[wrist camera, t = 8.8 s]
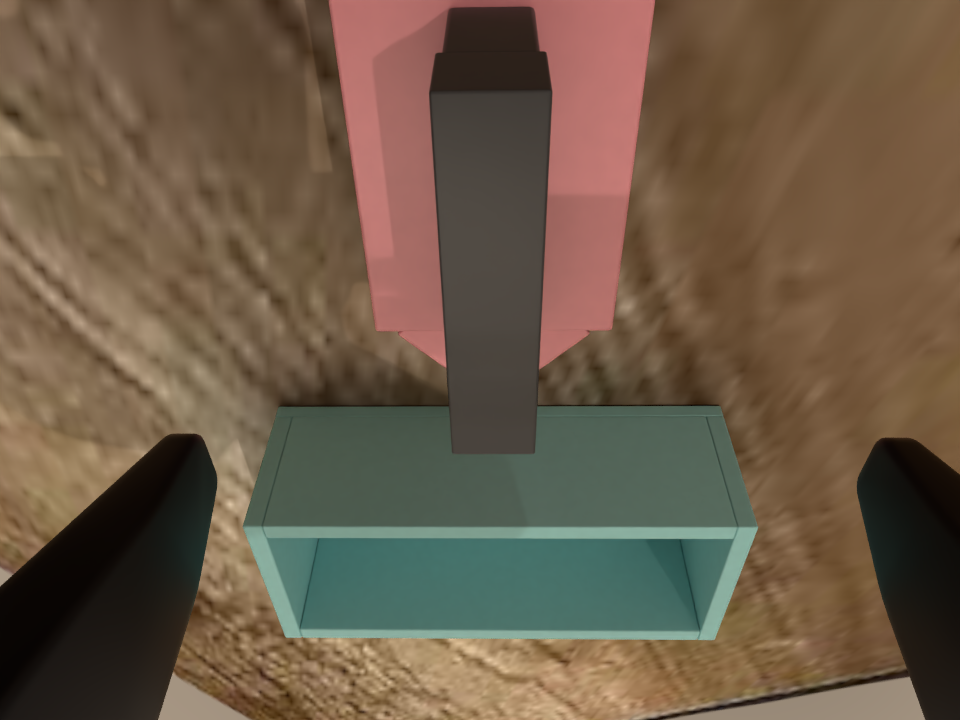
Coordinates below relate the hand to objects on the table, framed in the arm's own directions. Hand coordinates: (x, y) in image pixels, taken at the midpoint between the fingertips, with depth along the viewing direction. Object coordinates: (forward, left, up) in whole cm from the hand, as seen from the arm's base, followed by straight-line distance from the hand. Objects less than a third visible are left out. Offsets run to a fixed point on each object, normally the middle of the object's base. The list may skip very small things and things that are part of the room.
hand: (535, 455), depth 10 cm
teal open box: (-1, -14, -11) cm, 18 cm away
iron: (-1, -2, -11) cm, 12 cm away
